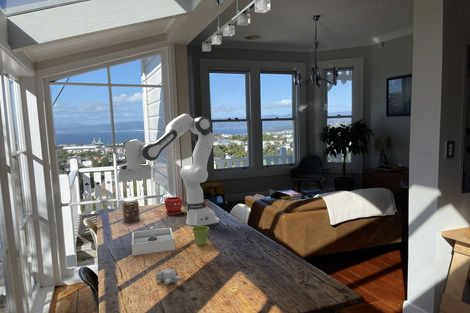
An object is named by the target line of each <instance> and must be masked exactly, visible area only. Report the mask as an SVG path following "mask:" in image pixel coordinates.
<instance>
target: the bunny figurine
mask: <svg viewBox="0 0 470 313" xmlns="http://www.w3.org/2000/svg"><path fill="white" fill-rule="evenodd" d="M155 280H156V281H159V282H163V283H164V285H169V284H171V283H173V284H174V283H176V282H177V280H178V281H183V280H184V277H183V276H180V275H178V270H177V269H173V268H172V269H170V268H164V269H161V270H160V269H159V271H158V273H157V274H155Z"/></svg>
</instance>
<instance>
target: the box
mask: <svg viewBox="0 0 470 313" xmlns="http://www.w3.org/2000/svg"><path fill="white" fill-rule="evenodd" d="M155 237H156V240H151V241H150V234H149V229H148V230H147V229H146V230H142V231H141V230H139V231H132V234H131V252H132V253H131V254H132V255H133V256H137V255H145V254H146V255H148V254H154V253H155V254H156V253H160V252H168V251H175V249H176V247H175V246H176V245H175V237H174V234H173V230H172V227H166V228H155Z"/></svg>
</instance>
